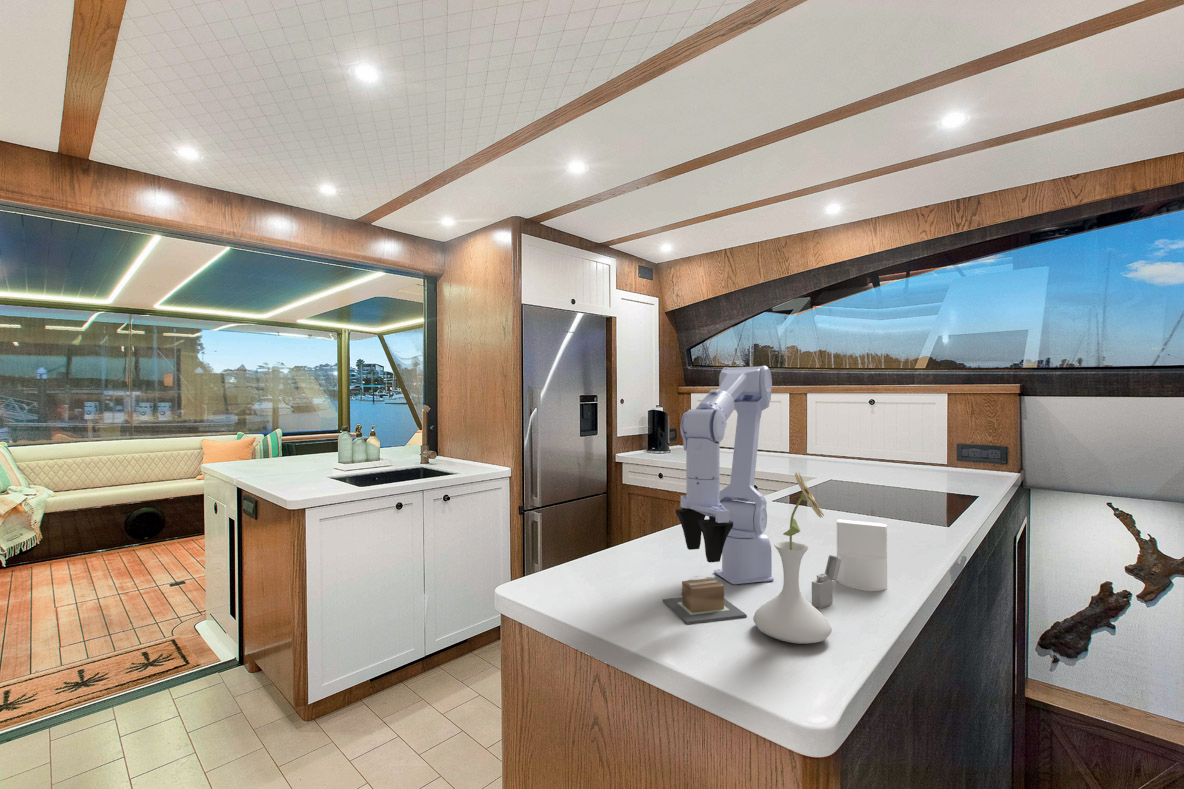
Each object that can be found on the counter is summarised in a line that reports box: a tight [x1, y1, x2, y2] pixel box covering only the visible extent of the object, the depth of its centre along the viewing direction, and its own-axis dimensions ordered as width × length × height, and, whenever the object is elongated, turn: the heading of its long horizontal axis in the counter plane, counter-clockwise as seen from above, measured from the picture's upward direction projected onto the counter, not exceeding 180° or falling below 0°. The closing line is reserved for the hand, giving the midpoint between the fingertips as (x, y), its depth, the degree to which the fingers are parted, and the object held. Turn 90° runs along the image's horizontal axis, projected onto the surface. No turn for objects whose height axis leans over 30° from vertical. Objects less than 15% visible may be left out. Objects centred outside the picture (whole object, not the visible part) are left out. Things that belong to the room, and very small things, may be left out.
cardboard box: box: [681, 577, 725, 613], centre depth 90 cm, size 4×6×4 cm, turn 106°
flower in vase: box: [752, 471, 832, 645], centre depth 81 cm, size 13×11×25 cm
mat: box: [662, 596, 748, 625], centre depth 90 cm, size 11×10×1 cm
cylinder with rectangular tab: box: [836, 518, 888, 592], centre depth 104 cm, size 9×9×12 cm
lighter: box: [811, 554, 841, 610], centre depth 93 cm, size 7×2×8 cm, turn 126°
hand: (703, 555), depth 90 cm, fingers open, 7 cm apart
